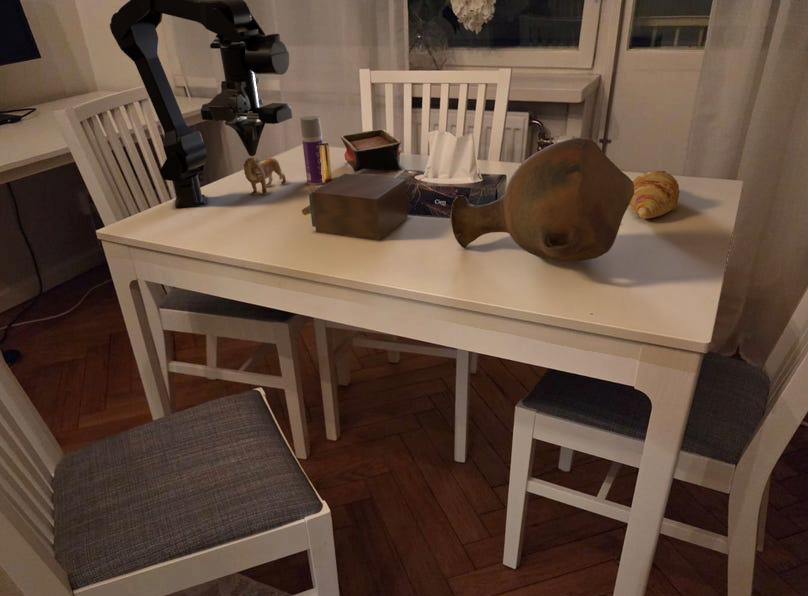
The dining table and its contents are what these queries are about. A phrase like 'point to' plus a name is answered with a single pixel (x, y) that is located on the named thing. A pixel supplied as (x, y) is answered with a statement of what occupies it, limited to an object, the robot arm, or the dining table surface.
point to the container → (312, 148)
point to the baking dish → (372, 150)
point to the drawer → (310, 210)
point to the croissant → (654, 194)
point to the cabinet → (360, 206)
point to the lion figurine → (262, 172)
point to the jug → (554, 204)
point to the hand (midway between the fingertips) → (252, 155)
